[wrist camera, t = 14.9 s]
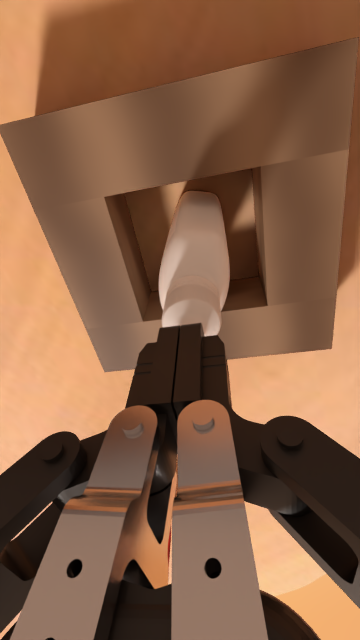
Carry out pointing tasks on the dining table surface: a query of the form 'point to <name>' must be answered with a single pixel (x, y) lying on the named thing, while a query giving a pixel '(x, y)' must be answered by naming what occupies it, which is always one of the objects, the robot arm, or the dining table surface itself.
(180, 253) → the eye dropper bottle
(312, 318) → the socket block
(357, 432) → the dining table surface
